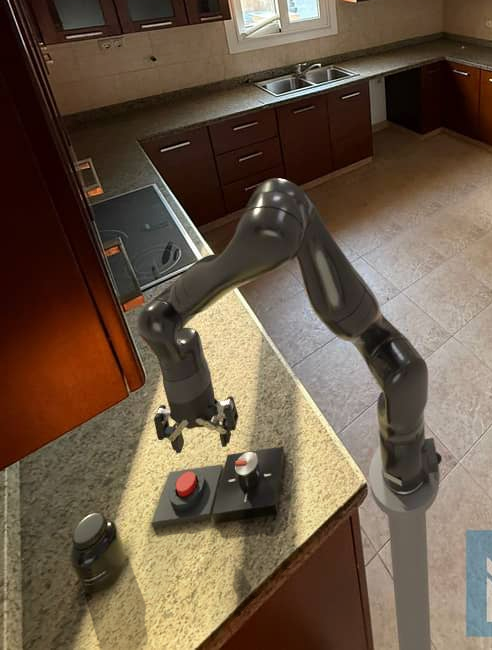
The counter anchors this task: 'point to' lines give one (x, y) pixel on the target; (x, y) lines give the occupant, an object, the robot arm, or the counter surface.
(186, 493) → the power button
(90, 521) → the supplement bottle
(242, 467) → the stove knob
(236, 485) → the stove panel
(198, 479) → the button housing
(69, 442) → the counter surface
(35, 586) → the counter surface
